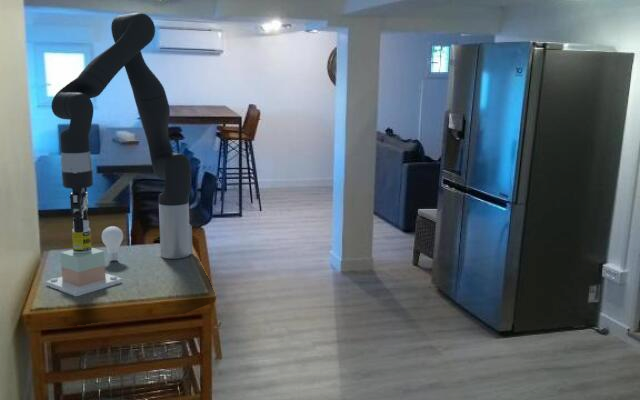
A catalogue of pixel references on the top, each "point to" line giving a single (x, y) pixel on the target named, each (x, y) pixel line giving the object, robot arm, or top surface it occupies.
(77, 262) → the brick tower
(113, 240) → the lightbulb
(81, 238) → the supplement bottle
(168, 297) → the top surface
